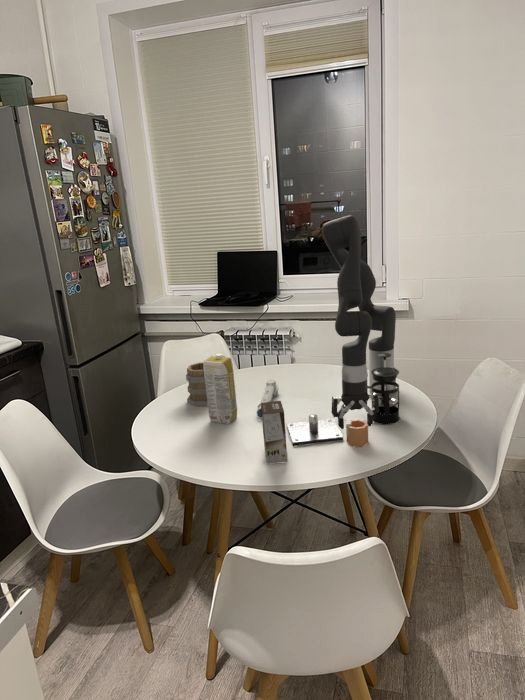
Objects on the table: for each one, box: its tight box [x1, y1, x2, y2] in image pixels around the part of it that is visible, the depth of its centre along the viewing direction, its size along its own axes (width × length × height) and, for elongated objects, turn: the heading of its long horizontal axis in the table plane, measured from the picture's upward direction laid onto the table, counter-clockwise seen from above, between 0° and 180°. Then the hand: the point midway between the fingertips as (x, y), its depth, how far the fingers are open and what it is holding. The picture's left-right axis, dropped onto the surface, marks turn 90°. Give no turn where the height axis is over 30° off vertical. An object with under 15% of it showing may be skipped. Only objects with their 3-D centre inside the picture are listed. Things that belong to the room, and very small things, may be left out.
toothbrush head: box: [256, 378, 280, 419], centre depth 196 cm, size 5×7×25 cm
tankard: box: [185, 355, 226, 407], centre depth 205 cm, size 20×13×15 cm, turn 129°
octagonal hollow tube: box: [345, 419, 369, 448], centre depth 161 cm, size 6×6×7 cm
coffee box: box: [261, 400, 288, 465], centre depth 155 cm, size 9×6×16 cm
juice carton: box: [202, 353, 238, 425], centre depth 182 cm, size 9×8×24 cm
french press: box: [365, 353, 401, 425], centre depth 173 cm, size 12×9×23 cm
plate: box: [286, 413, 344, 447], centre depth 168 cm, size 16×14×6 cm
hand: (355, 426), depth 160 cm, fingers open, 8 cm apart
